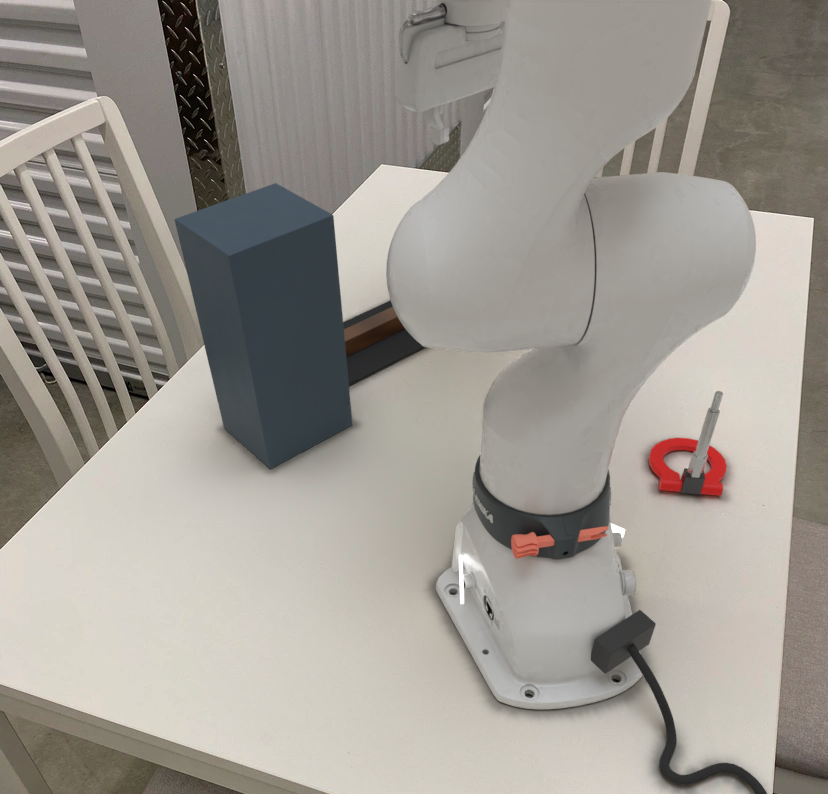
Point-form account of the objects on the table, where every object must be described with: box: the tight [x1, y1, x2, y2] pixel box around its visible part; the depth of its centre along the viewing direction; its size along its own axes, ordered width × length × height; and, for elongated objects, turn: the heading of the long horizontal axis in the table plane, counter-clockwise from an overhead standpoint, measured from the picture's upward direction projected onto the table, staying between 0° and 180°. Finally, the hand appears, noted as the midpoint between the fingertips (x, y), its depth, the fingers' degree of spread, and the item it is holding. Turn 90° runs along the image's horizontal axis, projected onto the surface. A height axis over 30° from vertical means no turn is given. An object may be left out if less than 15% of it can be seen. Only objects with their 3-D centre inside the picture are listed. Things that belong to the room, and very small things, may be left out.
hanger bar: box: [344, 307, 405, 357], centre depth 109 cm, size 22×2×6 cm, turn 131°
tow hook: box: [648, 390, 728, 497], centre depth 88 cm, size 8×13×9 cm
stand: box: [173, 182, 353, 470], centre depth 89 cm, size 12×10×26 cm
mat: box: [343, 299, 427, 387], centre depth 111 cm, size 20×12×1 cm, turn 131°
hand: (469, 131), depth 98 cm, fingers open, 8 cm apart
